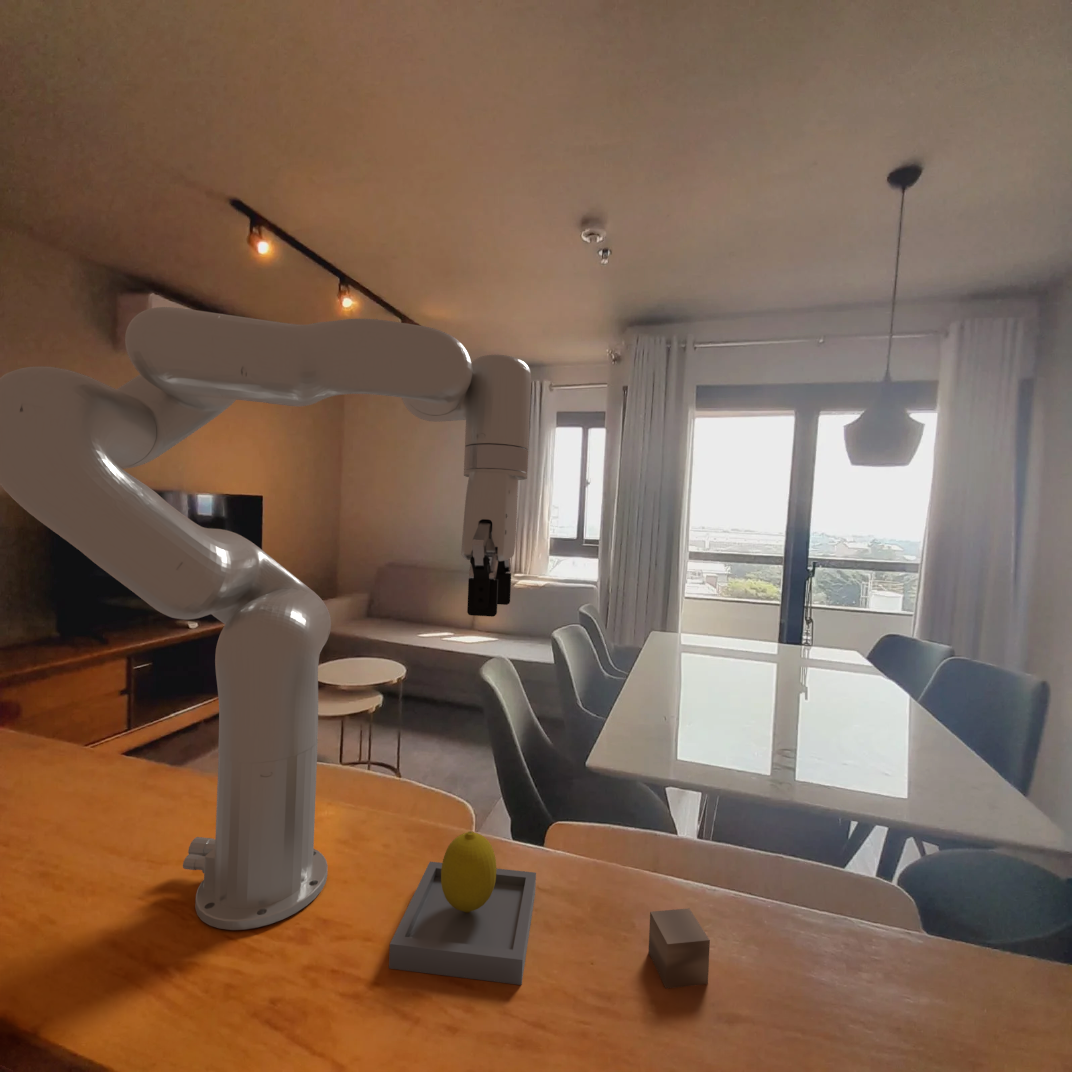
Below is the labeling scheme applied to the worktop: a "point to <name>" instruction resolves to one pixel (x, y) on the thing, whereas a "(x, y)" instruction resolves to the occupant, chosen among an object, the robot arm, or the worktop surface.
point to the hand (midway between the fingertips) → (490, 609)
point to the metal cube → (679, 948)
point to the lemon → (468, 872)
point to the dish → (467, 930)
